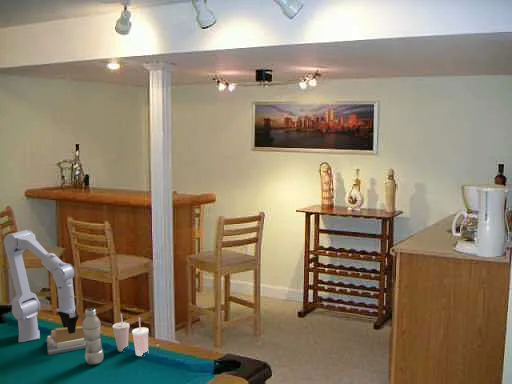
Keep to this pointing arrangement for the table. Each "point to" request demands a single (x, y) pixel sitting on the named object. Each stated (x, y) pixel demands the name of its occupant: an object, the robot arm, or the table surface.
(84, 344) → the stand
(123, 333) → the smoothie
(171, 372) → the table surface
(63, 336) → the wooden c-shaped bracket
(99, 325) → the plastic bottle
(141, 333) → the beverage cup
